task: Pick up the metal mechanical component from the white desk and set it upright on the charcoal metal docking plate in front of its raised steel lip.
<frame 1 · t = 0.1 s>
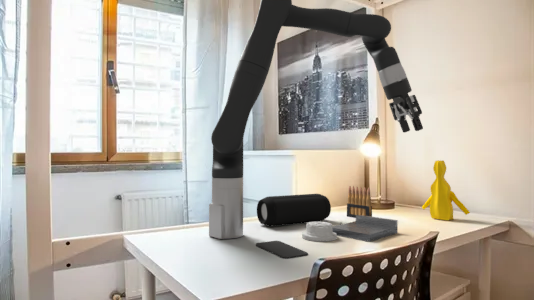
hand: (412, 130, 113), 31 cm above the table, tool tilted 20°, fingers open, 8 cm apart
ammunition clip: (359, 218, 140), on the table
mechanical component: (319, 239, 107), on the table
figure statuette: (442, 220, 137), on the table
docking plate: (363, 233, 113), on the table
phone: (280, 252, 93), on the table
portable speaker: (294, 224, 129), on the table
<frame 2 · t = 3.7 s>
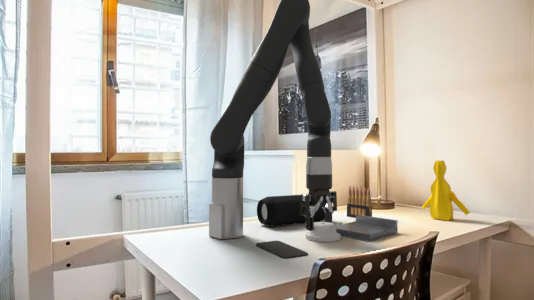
hand: (319, 228, 107), 3 cm above the table, tool pointing down, fingers open, 8 cm apart
mechanical component: (322, 239, 107), on the table, touching gripper
everything else where it was.
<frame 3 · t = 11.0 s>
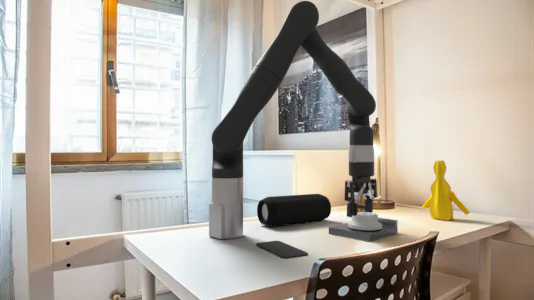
hand: (361, 213, 112), 6 cm above the table, tool pointing down, fingers open, 8 cm apart
mechanical component: (364, 228, 111), point 2 cm above the table, touching docking plate
everything else where it was.
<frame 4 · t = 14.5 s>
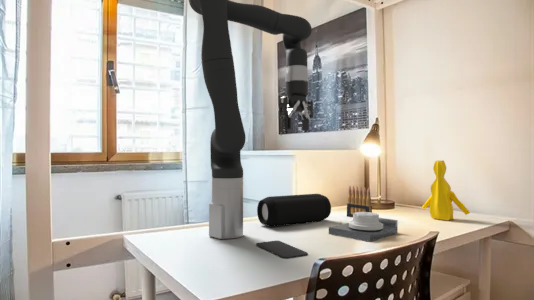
hand: (296, 130, 122), 32 cm above the table, tool pointing down, fingers open, 8 cm apart
nothing on the table moved.
at the end: mechanical component inside the target area on the docking plate (1.4 cm from its centre), point 1.8 cm above the docking plate's base; mechanical component tilted 0°; the gripper is holding nothing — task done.
